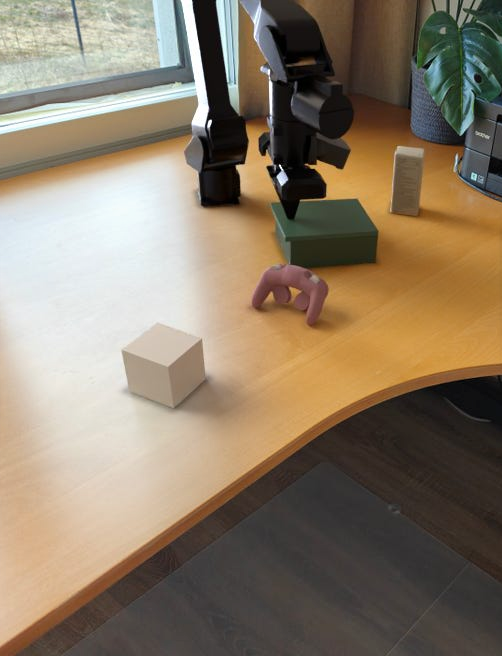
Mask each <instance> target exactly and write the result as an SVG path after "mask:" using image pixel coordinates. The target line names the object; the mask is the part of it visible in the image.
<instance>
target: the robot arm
mask: <svg viewBox="0 0 502 656" xmlns="http://www.w3.org/2000/svg"><path fill="white" fill-rule="evenodd" d="M180 1H181V5H182V10H183V11H182V12H183V17H184V23H185V28H186V34H187V42H188V47H189V53H190V59H191V64H192V65H191V66H192V71H193V77H194V81H195V82H194V83H195V89H196V94H197V95H196V96H197V101H198V106H197V109H196V111H195V113H194V116H193V119H192V121H191V131H192V137H191V139H190V141H189V142H188V144H187V145H186V147H185V148H184V149H183V153H184V157H185V161H186V164H187V165H188V166H190V168H192V169H194V170H195V171H196V179H197V189H196V193H197V196H198V199H199V203H200V206H201V207H216V206H217V207H218V206H238V205H239V206H240V204H241V201H240V198H241V197H242V191H241V189H242V187H241V174H240V171H239V170H238V168H237V166H244V165H245V164H246V161H247V155H248V150H249V145H250V140H249V137H248V131H247V120H246V119H245V117H244V116H243V115H239V114H238V112H237V111H236V109H235V108H234V106H232V102H231V98H230V97H231V96H230V91H229V83H228V77H227V69H226V62H225V55H224V49H223V43H222V42H223V40H222V34H221V27H220V20H219V12H218V7H217V0H180ZM238 2H239V3H240V5H242V7H243V8H244V10H245V11H246V13H247V14H248V15H249V17H250V19H251V21H252V22H253V38H254V40H255V42H256V44H257V46H258V47H259V50H260V52H261V54H262V55H263V57H264V59H265V60H266V61H267V62H265V63H264V64H263V65H262V66H261V67H260V72H261V73H262V74H264V75H266V76H268V92H269V93H268V94H269V95H268V96H269V97H268V98H269V99H268V100H269V101H268V102H269V116H266V124H267V127H268V128H269V131H264V132H263V133H262V134H261V135H260V136H259V137H258V138H257V139H258V140H257V141H258V143H257V144H258V151H259V154H260V156H261V157H266V156H267V153H268V156H269V158H270V160H271V165H266V166H265V169H266V172H267V173H268V176H269V178H270V181H271V183H272V185H273V188H274V190H275V193H276V195H277V197H278V200H279V202H281V205H282V207H283V210H284V212H285V214H286V217H287V219H294V218H295V216H296V212H297V209H298V206H299V203H300V201H309V200H325V198H327V187H328V186H327V185H328V184H327V182H326V181H325V179H324V178H323V176H322V175H321V173H320V172H319V171H318V170H317V169H316V168H312V167H311V166H317V165H318V161H319V162H321V163H323V164H327V165H330V166H333V167H335V169H337V170H344V168H345V166H346V164H347V161H348V159H349V156H350V154H351V152H352V148H351V147H350V146H349V145H348V142H347V141H346V140H344V139H342V137H344V136H345V135H346V134H347V133H348V132H349V130H350V129H351V127H352V124H353V122H354V117H355V109H354V107H353V103H352V101H351V99H350V98H349V97H348V96H347V95H345V94H344V85H343V83H341V82H339V81H336V80H331V79H330V78H335V76H336V73H335V69H334V67H333V63H334V62H333V60H332V59H333V58H331V55H330V52H329V50H328V48H327V45H326V43H325V40H324V36H323V34H322V31H321V28H320V25H319V23H318V21H317V20H316V19H315V18H314V16H313V15H311V13H309V12H308V10H306V8H304V7H303V6H302V5H301V4H298V3H297V2H296V1H293V0H238ZM312 62H315V63H312ZM305 63H311V64H305ZM294 64H302V65H294Z"/></svg>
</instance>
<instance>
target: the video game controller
mask: <svg viewBox="0 0 502 656" xmlns="http://www.w3.org/2000/svg"><path fill="white" fill-rule="evenodd" d="M290 288H292V289H296V290H298V291H300V292H299V293H297V294H296V295H295V297H294V299H293V305H294V307H295V308H296V309H297V310H299V311H306V314H305V315H306V316H305V320H306V321H305V322H306V324H307V325H308V326H312V325H314V324H315V323H316V322H317V320H318V319H319V316H320V315H321V312H322V310H323V307H324V305H325V300H326V298H327V297H328V295H329V291H330V289H329V285H328V283H327V282H326V281H325V279H324V278H322V277H319V276H318V275H317V274H316V273H315V272H313V271H311V270H309V269H305V268H302V267H299V266H295V265H288V264H282V263H277V264H274V265H270V266H268V267H267V268H266V269H265V270H264V271H263V273H262V274H261V276H260V278H259V280H258V282H257V284H256V286H255V288H254V291H253V292H252V295H251V300H250V304H251V307H252V308H253V309H258V308H259V307H261V306H262V305H263V304H264V302H266V300H267V299H268V297H269V295H270V294H271V293H272V297H273V299H274V302H275V303H277V304H279V305H285V304H288V303H290V302H291V300H292V291H291V289H290Z"/></svg>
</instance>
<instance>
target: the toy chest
mask: <svg viewBox="0 0 502 656" xmlns="http://www.w3.org/2000/svg"><path fill="white" fill-rule="evenodd" d="M274 222H275V223H274V225H275V227H274V229H275V231H274V232H275V233H274V234H275V237H276V239H277V241H278V244H279V245H280V248H281V250H282V253H283V255H284V258H285V261H286V262H287V265H295V266H299V267H302V268H305V269H307V270H309V269H319V268H320V269H321V268H331V267H332V268H333V267H343V266H356V265H369V264H376V263H377V254H378V253H377V252H378V245H379V244H378V241H379V235H378V236H364V237H350V238H335V239H320V240H306V241H291V242H285V240H284V238H283V236H282V233H281V231H280V229H279V226H278V224H277V222H276V219H275V218H274Z"/></svg>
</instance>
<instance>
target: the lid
mask: <svg viewBox="0 0 502 656" xmlns="http://www.w3.org/2000/svg"><path fill="white" fill-rule="evenodd" d="M269 207H270V210H271V212H272V215H273V217H274V220H275V219H276V222H277V224H278V226H279V229H280V231H281V233H282V236H283V238H284V240H285V242H291V241H306V240H320V239H335V238H350V237H364V236H378V237H379V233H380V232H379V231H380V230H379V229H378V228H377V226H376V225H375V223H374V222H373V219H371V217H370V216H369V214H368V212H367V211H366V210H365V208H364V207H363V205H362V203H361V202H360V200H359V199H358V198H338V199H336V198H335V199H314V200H300V203H299V206H298V209H297V212H296V216H295V218H294V219H287V217H286V214H285V212H284V210H283V207H282V205H281V202H280V201H276V202H273V201H271V202H269Z"/></svg>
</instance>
